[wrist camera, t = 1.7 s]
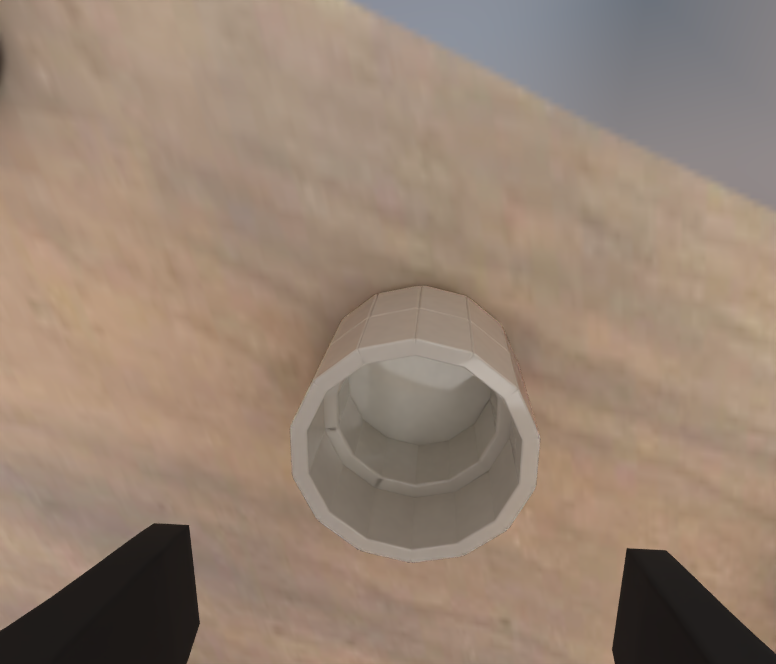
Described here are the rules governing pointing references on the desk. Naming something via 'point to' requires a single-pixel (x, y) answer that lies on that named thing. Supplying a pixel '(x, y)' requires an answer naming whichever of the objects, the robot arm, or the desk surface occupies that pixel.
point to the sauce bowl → (416, 428)
